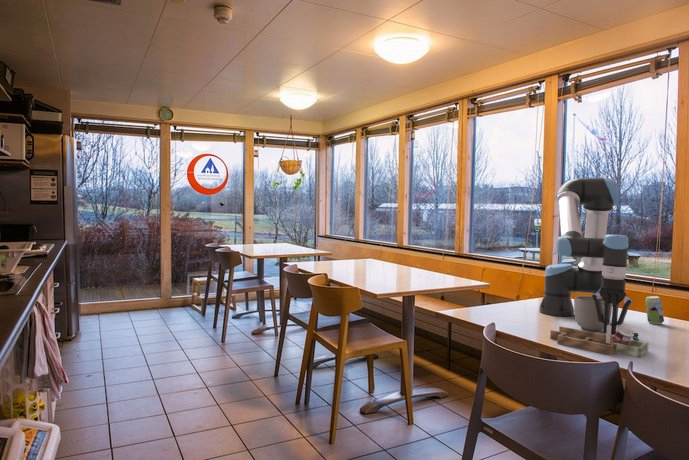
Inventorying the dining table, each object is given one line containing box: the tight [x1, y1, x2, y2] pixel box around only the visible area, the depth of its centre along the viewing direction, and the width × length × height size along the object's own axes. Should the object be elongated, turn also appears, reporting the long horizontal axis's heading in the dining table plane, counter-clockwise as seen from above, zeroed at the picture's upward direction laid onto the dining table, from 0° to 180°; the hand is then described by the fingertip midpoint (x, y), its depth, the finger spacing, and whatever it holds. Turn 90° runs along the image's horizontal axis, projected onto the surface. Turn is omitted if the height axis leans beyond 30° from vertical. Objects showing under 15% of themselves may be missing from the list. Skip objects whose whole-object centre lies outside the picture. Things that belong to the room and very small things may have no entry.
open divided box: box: [549, 325, 649, 358], centre depth 171 cm, size 30×15×3 cm, turn 46°
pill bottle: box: [610, 323, 635, 345], centre depth 167 cm, size 5×5×8 cm
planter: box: [573, 295, 613, 333], centre depth 193 cm, size 14×14×13 cm
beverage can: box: [644, 295, 665, 325], centre depth 208 cm, size 6×7×12 cm
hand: (609, 342), depth 170 cm, fingers closed
